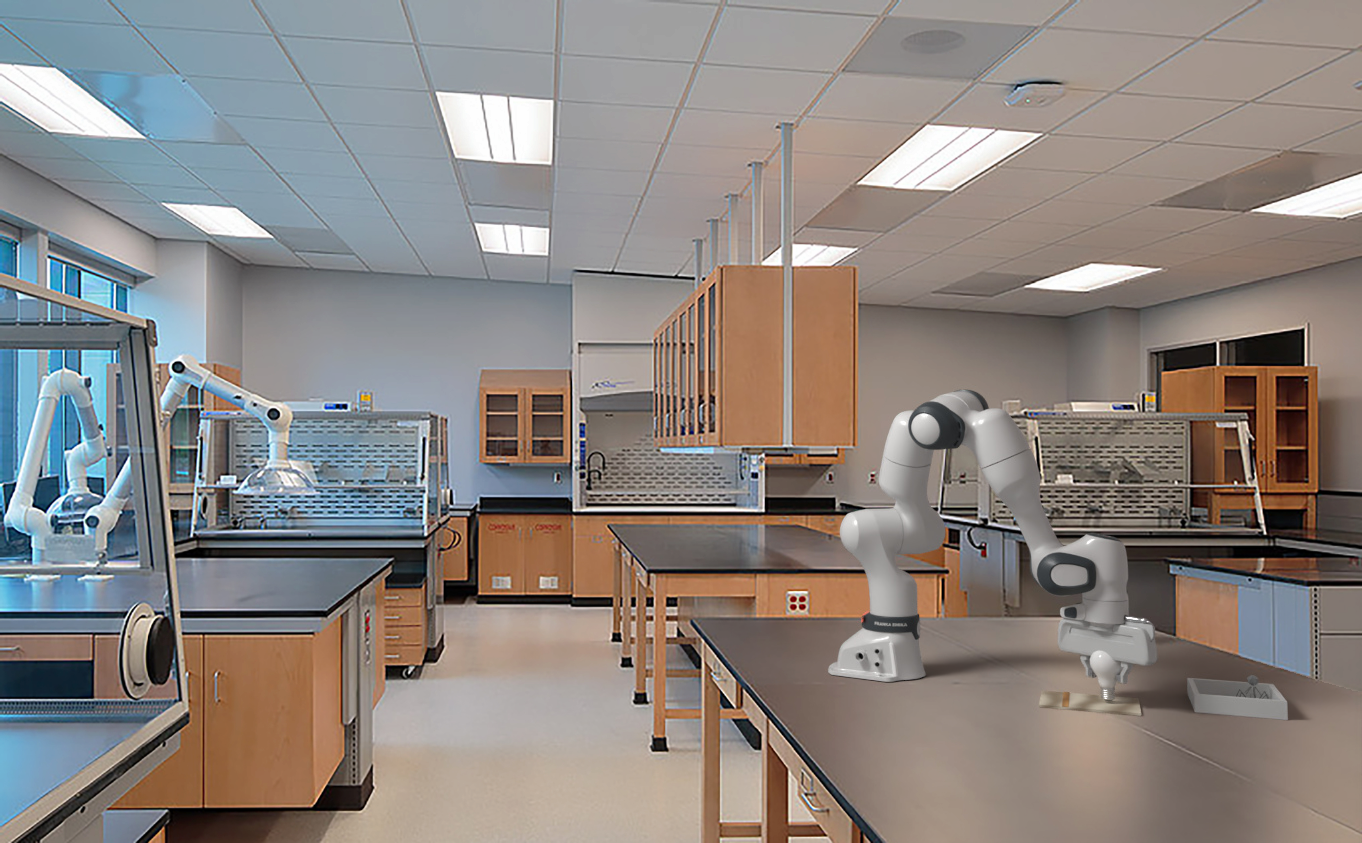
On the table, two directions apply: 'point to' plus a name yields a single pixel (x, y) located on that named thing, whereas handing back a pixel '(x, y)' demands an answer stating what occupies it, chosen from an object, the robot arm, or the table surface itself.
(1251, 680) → the bacteriophage
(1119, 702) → the board
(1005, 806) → the table surface
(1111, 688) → the lightbulb
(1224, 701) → the specimen tray
